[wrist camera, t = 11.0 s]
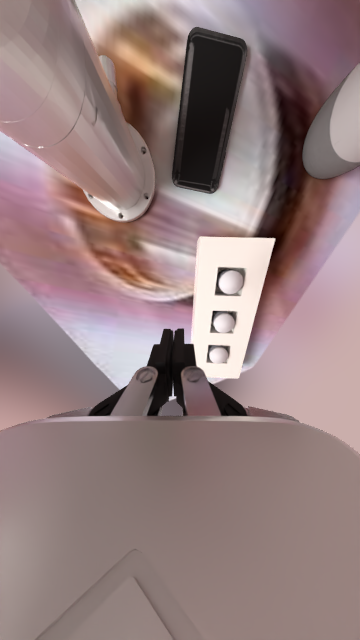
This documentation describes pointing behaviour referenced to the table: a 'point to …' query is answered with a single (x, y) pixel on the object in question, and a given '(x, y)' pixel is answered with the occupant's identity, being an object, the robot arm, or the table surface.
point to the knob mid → (222, 321)
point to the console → (227, 298)
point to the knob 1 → (217, 353)
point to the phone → (207, 107)
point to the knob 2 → (229, 281)
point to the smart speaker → (335, 132)
